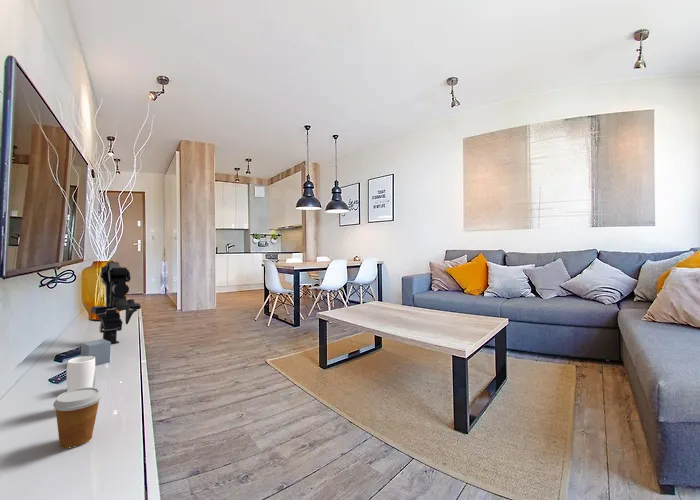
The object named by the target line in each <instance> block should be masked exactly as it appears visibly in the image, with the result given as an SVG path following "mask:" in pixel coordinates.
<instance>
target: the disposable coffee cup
mask: <svg viewBox="0 0 700 500" xmlns="http://www.w3.org/2000/svg"><path fill="white" fill-rule="evenodd" d="M102 396H103V394H102V392H101V391H100V389H99V388H98V387H96V388H94V387H87V388H79V389H74V390H71V391H68V392H67V391H64V392H63V393H61V394H59V395H58V396H57V397H56V398H55V401H54V402H53V404H52V406H53V408H54V409H55V415H56V423H57V426H56V427H57V431H58V433H57V434H58V442H59V443H58V444H59V447H60V448H61V447H62V448H61V449H70V448H69V447H74V446H78V445H81V444H83V445H85V444H87V443H88V442H90V441H91V440H92V439H91V438H93V435H94V428H95V424H96V419H97V414H98V408H99V402H100V400H101V398H102ZM90 439H91V440H90ZM89 440H90V441H89ZM87 441H88V442H87ZM86 442H87V443H86ZM84 443H85V444H84ZM81 446H82V445H81ZM78 447H79V446H78ZM74 448H75V447H74Z"/></svg>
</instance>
